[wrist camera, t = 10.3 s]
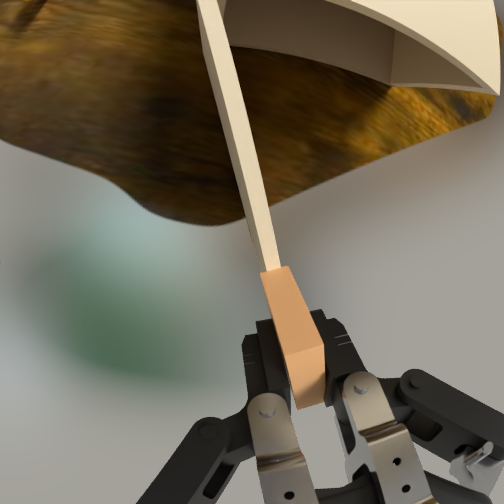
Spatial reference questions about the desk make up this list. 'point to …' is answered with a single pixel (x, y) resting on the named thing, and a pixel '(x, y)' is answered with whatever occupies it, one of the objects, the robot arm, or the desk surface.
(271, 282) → the end flap
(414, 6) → the carton
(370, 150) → the desk surface
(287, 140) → the desk surface
